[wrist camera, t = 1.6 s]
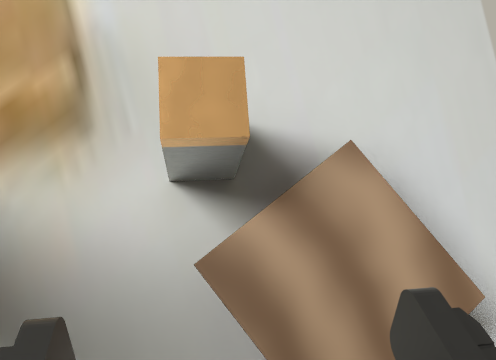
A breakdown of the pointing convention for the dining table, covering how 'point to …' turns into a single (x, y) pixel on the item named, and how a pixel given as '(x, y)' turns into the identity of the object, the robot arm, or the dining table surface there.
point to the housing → (202, 116)
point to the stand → (331, 266)
